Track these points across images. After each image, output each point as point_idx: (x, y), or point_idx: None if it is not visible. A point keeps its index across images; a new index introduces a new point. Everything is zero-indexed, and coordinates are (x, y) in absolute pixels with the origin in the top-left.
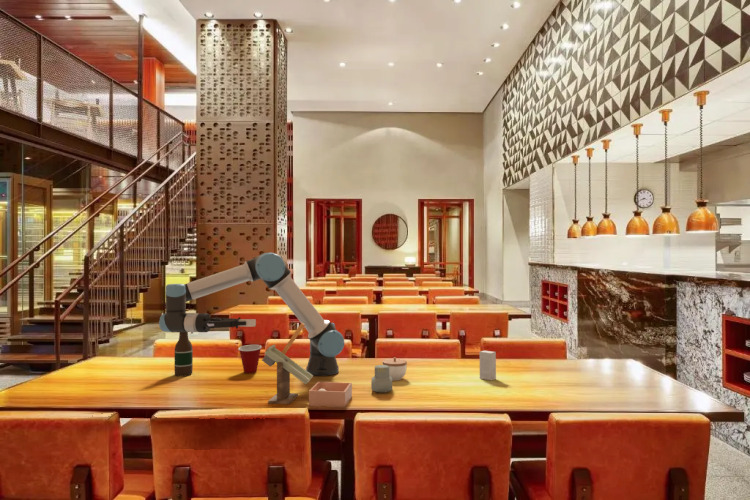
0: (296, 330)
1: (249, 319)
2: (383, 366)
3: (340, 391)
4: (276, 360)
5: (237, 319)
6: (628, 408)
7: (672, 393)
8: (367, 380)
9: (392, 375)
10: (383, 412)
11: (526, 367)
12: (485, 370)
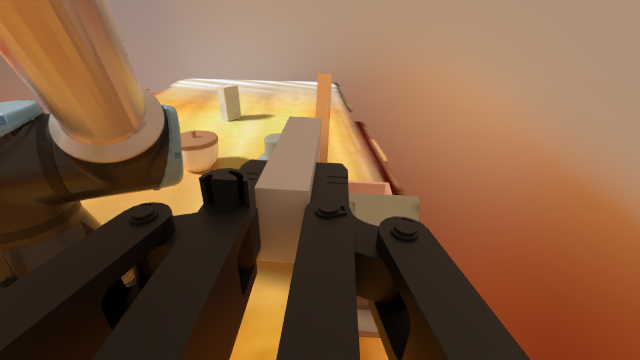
0: (329, 107)
1: (298, 134)
2: (279, 136)
3: (386, 187)
4: None
5: (221, 218)
6: (334, 95)
7: (295, 84)
8: (197, 191)
9: (215, 159)
10: (392, 175)
11: (188, 102)
12: (233, 108)
